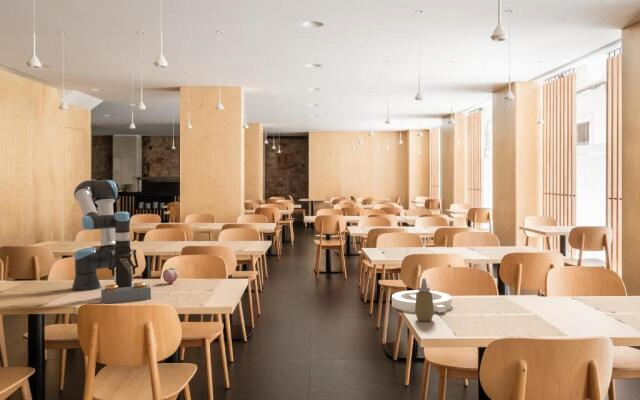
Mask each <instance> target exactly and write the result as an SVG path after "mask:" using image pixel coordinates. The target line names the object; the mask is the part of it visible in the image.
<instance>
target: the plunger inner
mask: <svg viewBox="0 0 640 400" xmlns="http://www.w3.org/2000/svg"><path fill="white" fill-rule="evenodd" d="M117 288H118V285H116V284H107V285H105V286H104V289H107V291H117Z"/></svg>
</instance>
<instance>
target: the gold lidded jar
mask: <svg viewBox="0 0 640 400" xmlns="http://www.w3.org/2000/svg"><path fill="white" fill-rule="evenodd" d="M146 285H147V282H145V281H140V282H135V283H132V287H135V289H138V288H145V286H146Z"/></svg>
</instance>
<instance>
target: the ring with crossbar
mask: <svg viewBox="0 0 640 400" xmlns="http://www.w3.org/2000/svg"><path fill="white" fill-rule="evenodd" d="M417 292H419V289H417V290H416V289H415V290H404V291H403V290H401V291H398V292H395V293H393V294H392V295H391V306H392V307H393V308H394V309H397V310H400V311H403V312H409V313H415V304H416V293H417ZM429 292H431V293H432V299H433V308H434V313H445V312H446V311H447V310H448V311H449V310H450V309H452V296H451V294H449V293H445V292H441V291H435V290H434V291H433V290H430V291H429Z"/></svg>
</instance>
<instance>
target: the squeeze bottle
mask: <svg viewBox="0 0 640 400" xmlns="http://www.w3.org/2000/svg"><path fill="white" fill-rule="evenodd" d="M421 279H422V281H421V284H420V285H419V286H418V290H419V292H417V293H416V304H415V312H414V313H415V316H416V318H417V321H419V322H426V323H428V322H431V321H432V319H433V316H434V313H435V312H434V308H433V299H432V293H431V292H429V291H431V289H430V286H428V284H427V280H426V278H421Z"/></svg>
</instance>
